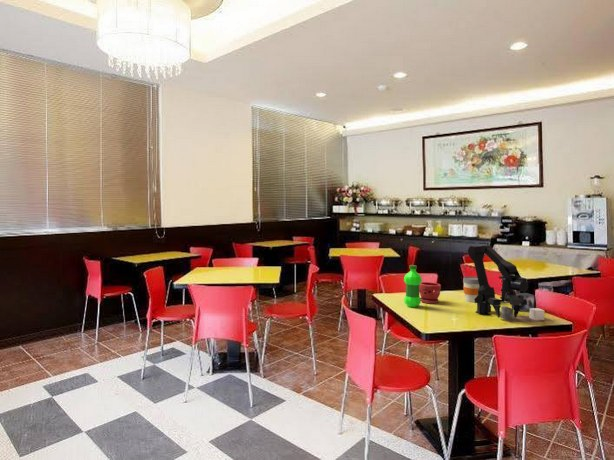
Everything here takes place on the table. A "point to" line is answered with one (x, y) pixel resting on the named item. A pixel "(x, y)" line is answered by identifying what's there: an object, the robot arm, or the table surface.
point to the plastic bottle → (412, 287)
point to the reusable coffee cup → (470, 288)
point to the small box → (529, 301)
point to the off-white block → (536, 314)
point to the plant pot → (429, 292)
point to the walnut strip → (508, 315)
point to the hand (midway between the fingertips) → (506, 317)
